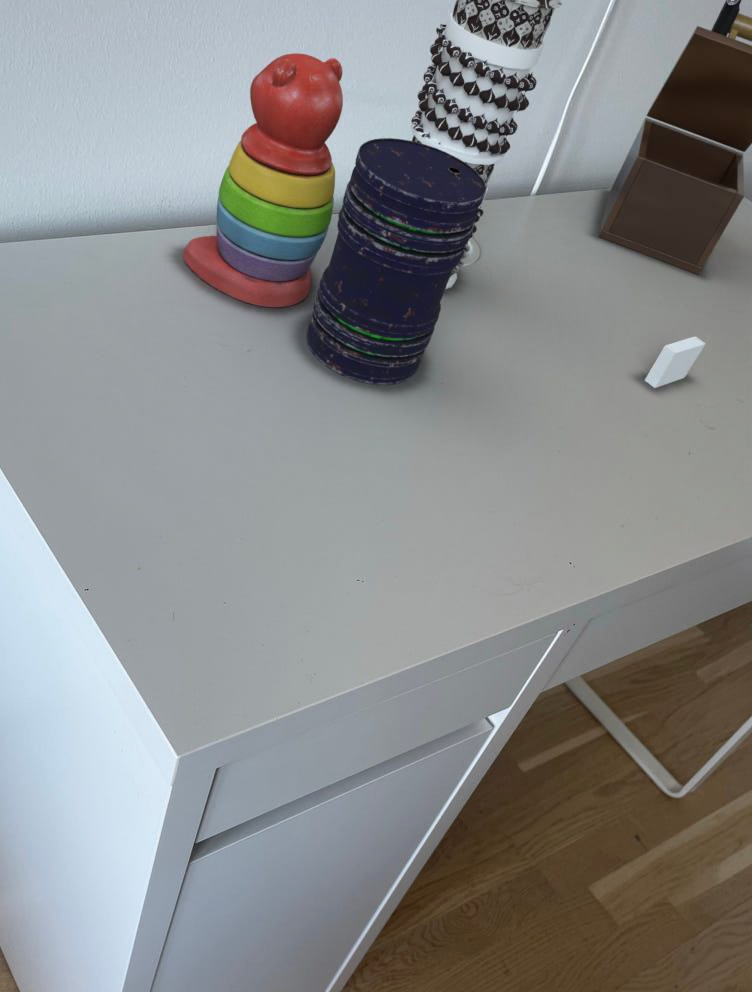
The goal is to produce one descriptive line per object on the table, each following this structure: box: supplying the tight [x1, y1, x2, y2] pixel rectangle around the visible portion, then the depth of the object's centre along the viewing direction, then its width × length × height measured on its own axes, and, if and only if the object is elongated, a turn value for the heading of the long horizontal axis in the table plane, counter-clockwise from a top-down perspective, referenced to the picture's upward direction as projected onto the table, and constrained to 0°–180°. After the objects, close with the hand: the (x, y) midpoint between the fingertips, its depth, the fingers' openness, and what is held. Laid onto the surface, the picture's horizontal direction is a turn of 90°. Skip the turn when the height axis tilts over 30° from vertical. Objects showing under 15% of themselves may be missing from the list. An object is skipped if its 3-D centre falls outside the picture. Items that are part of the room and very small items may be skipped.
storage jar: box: [305, 137, 487, 386], centre depth 76 cm, size 10×10×15 cm
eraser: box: [644, 335, 706, 389], centre depth 89 cm, size 1×5×4 cm, turn 127°
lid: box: [646, 12, 752, 153], centre depth 103 cm, size 14×12×5 cm
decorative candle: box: [410, 0, 563, 290], centre depth 85 cm, size 9×9×25 cm
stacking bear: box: [182, 53, 344, 308], centre depth 79 cm, size 11×10×18 cm
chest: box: [598, 117, 745, 275], centre depth 110 cm, size 14×12×9 cm
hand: (742, 55), depth 101 cm, fingers closed on lid, 5 cm apart
